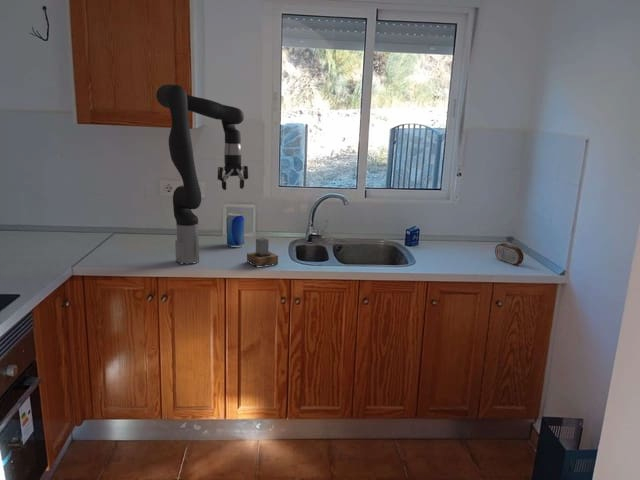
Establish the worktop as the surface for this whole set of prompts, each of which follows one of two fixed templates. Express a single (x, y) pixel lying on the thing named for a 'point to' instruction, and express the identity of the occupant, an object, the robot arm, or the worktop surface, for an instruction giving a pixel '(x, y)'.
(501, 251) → the tin
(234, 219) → the beer can
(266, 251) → the peg
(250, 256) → the wooden square frame
